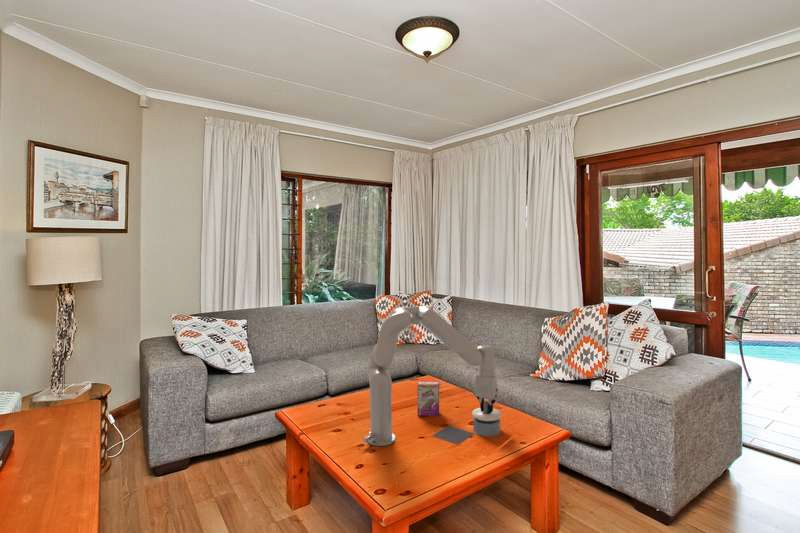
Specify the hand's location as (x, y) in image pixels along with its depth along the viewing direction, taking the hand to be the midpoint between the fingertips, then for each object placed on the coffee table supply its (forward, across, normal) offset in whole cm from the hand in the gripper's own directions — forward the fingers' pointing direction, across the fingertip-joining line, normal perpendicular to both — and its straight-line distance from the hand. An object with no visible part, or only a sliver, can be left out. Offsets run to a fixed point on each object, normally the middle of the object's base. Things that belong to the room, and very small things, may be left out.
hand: (486, 411), depth 191 cm
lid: (+2, 0, 0) cm, 2 cm away
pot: (+10, 0, 0) cm, 10 cm away
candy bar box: (+10, -33, 0) cm, 34 cm away
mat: (+10, -10, -13) cm, 19 cm away
